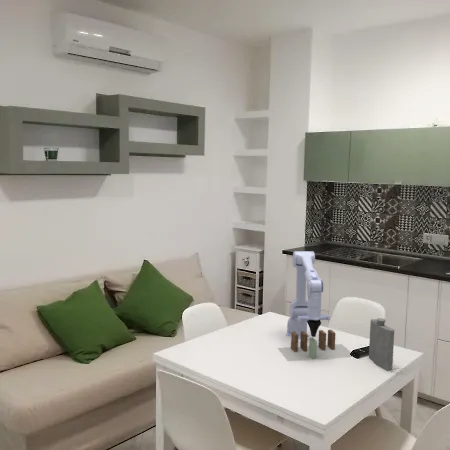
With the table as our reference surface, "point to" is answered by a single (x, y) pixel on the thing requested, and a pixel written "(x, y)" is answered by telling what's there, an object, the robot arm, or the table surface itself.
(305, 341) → the domino
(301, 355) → the grey mat
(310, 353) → the sage domino
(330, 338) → the domino
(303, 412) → the table surface
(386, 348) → the hip flask
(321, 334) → the domino
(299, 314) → the robot arm
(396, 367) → the table surface
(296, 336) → the domino
